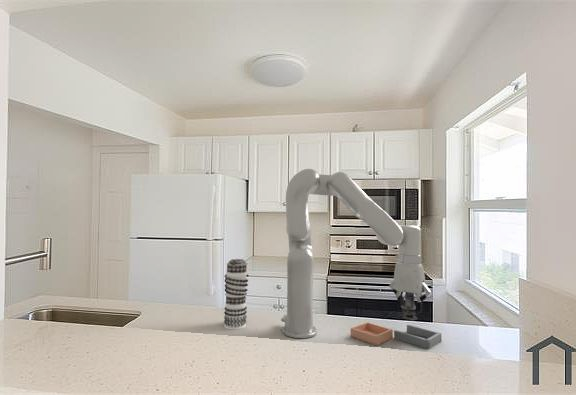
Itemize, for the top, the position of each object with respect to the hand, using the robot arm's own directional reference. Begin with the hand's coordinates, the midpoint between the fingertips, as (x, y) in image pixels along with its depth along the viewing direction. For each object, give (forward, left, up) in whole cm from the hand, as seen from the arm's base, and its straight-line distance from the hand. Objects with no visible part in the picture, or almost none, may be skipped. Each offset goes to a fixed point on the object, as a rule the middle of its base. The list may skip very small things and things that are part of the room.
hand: (409, 310), depth 111 cm
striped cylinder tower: (-50, -41, -10) cm, 65 cm away
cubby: (+2, 0, -9) cm, 10 cm away
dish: (-9, -11, -9) cm, 17 cm away
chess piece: (0, 0, -3) cm, 3 cm away
